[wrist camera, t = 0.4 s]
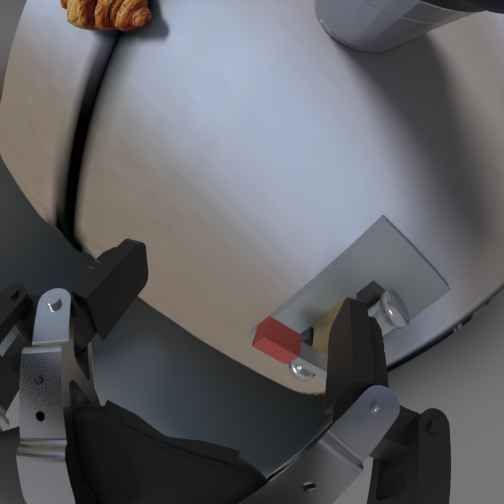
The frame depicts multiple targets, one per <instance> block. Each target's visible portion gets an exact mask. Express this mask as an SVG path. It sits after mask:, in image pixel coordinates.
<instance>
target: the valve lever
mask: <svg viewBox="0 0 504 504" xmlns="http://www.w3.org/2000/svg"><path fill="white" fill-rule="evenodd" d="M302 336H303V335H301V334H299V333H297V332H296V331H294V330H292V329H291V328H289V327H287V326H286V325H284V324H282V323H281V322H279V321H278V320H276V319H274V318H273V317H271V316H269V317H267V318H266V319H265V320H264V321H262V322H261V323H260V324H259V325H258V326H257V329H256V333H255V336H254V340H253V343H252V346H253V347H255V348H256V349H258V350H260V351H262V352H264V353H266V354H267V355H269V356H271V357H273V358H275V359H277V360H279V361H280V362H282V363H284V364H287V363H289V362H293V363H295V364H297V365H299V366H301V367H303V368H305V369H307V370H309V371H311V372H313V373H315V374H317V375H319V376H321V377H323V378H325V379H326V377H327V360H328V356H327V355H325V354H324V353H322V352H320V351H318V350H316V349H315V348H313V347H311V346H309V345H308V344H306V343H304V342H302Z"/></svg>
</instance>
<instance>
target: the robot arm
mask: <svg viewBox="0 0 504 504" xmlns="http://www.w3.org/2000/svg"><path fill="white" fill-rule="evenodd" d="M314 1H315V11H316V15H317V17H318V20H319V22H320V23H321V25H322V27H323V28H324V29H325V30H326V31H327V33H328V34H329V35H330V36H332V37H333V38H334V39H335V40H337V41H338V42H340V43H342V44H343V45H345V46H347V47H350V48H352V49H355V50H359V51H363V52H374V53H376V52H383V51H387V50H389V49H392V48H394V47H396V46H398V45H400V44H403V43H405V42H407V41H409V40H411V39H413V38H415V37H417V36H420V35H422V34H424V33H426V32H429V31H431V30H433V29H436V28H438V27H440V26H443V25H445V24H448V23H450V22H453V21H456V20H458V19H460V18H463V17H466V16H469V15H472V14H475V13H478V12H481V11H485V10H487V11H490V12H495V13H501V14H504V0H314ZM147 279H148V266H147V255H146V246H145V244H144V243H142V242H139V241H135V240H132V239H125V240H124V241H123V242H122V243H121V244H120V245H119V246H117V247H114V248H111V249H109V250H107V251H105V252H103V253H102V254H101V255H100V256H99V257H98V258H97V259H96V261H94V262H93V263H92V264H91V265H90V266H89V268H86V269H85V270H84V271H83V272H82V273H81V274H80V275H79V276H78V277H77V278H76V279H75V280H74V281H73V282H72V283H71V284H70V285H69V286H68V287H67V288H66V289H65V290H64V289H59V288H57V289H52V290H50V291H48V292H46V293H45V294H44V295H43V296H37V295H31V294H29V292H28V290H27V288H26V285H25V284H23V283H21V282H15V283H12V284H10V285H8V286H7V287H6V288H5V289H4V290H3V291H2V292H1V293H0V344H1V342H2V341H3V340H4V338H5V337H6V336H7V334H8V333H9V332H10V330H11V329H12V328H13V327H15V329H16V330H17V332H18V333H19V335H18V336H17V337H16V339H15V340H14V341H13V343H12V344H11V345H10V347H9V348H8V349H7V351H6V352H5V354H4V355H3V356H2V357H1V356H0V504H332V503H333V502H334V501H335V500H336V499H337V498H338V497H339V496H340V495H341V494H342V493H343V492H344V491H345V490H346V489H347V488H348V487H349V486H350V485H351V484H352V483H353V482H354V480H355V479H356V478H357V477H358V476H359V474H360V473H361V472H362V470H363V466H362V464H363V462H364V461H365V459H366V458H367V457H368V456H370V457H373V458H374V459H373V467H372V475H371V482H370V488H369V494H368V500H367V504H449V496H450V480H451V446H450V429H449V422H448V419H447V417H446V416H445V414H444V413H443V412H442V411H440V410H439V409H435V408H430V409H427V410H426V411H424V412H423V413H422V414H419V413H417V412H414V411H412V410H409V409H406V408H405V407H403V406H401V405H400V403H399V400H398V398H397V396H396V394H395V393H394V392H393V391H392V390H390V389H389V387H388V376H387V367H386V358H385V352H384V343H383V336H382V329H381V327H380V325H379V324H378V322H377V320H376V318H375V317H370V316H369V315H368V307H367V303H366V301H362V300H358V299H353V298H349V297H347V298H346V299H345V301H344V302H343V304H342V306H341V308H340V310H339V312H338V314H337V316H336V318H335V320H334V322H333V324H332V326H331V329H330V333H329V339H328V360H327V377H326V391H325V403H324V413H329V414H333V421H332V423H331V424H329V425H328V426H327V427H326V429H324V430H323V431H322V432H321V433H320V434H319V435H318V436H317V437H316V438H315V439H314V440H313V441H311V442H310V443H309V444H308V445H307V446H306V447H305V448H303V449H302V450H301V451H300V452H299V453H298V454H296V455H295V456H294V457H293V458H291V459H290V460H289V461H287V462H286V463H285V464H283V465H282V466H281V467H279V468H278V469H277V470H276V471H275V472H273V473H272V474H270V475H269V476H267V477H265V476H264V475H263V474H262V473H261V472H260V471H259V470H258V469H257V468H255V467H254V466H253V465H252V464H250V463H249V462H247V461H246V460H244V459H241V458H240V457H239V454H240V451H238V450H234V449H230V448H226V447H223V446H219V445H216V444H212V443H209V442H206V441H198V440H188V439H180V438H173V437H168V436H165V435H163V434H161V433H160V432H159V431H157V430H156V429H155V428H153V427H152V426H151V425H149V424H148V423H147V422H145V421H144V420H143V419H142V418H140V417H139V416H137V415H136V414H134V413H132V412H130V411H128V410H126V409H124V408H122V407H120V406H118V405H116V404H114V403H113V402H111V401H109V400H107V402H106V404H105V406H101V405H100V401H99V398H98V395H97V392H96V390H95V386H94V378H93V369H92V356H91V355H92V354H91V344H90V341H91V339H92V338H93V337H94V338H96V339H98V340H100V341H102V342H103V341H104V339H105V338H106V337H107V335H108V334H109V333H110V331H111V330H112V329H113V327H114V326H115V325H116V323H117V322H118V320H119V319H120V318H121V316H122V315H123V314H124V312H125V311H126V310H127V309H128V307H129V306H130V304H131V303H132V302H133V301H134V299H135V298H136V297H137V296H138V294H139V293H140V292H141V290H142V289H143V288H144V287H145V285H146V282H147ZM18 391H19V427H15V428H12V429H9V430H6V429H8V427H9V420H8V419H7V418H6V415H5V414H6V412H7V410H8V408H9V406H10V404H11V402H12V401H13V399H14V397H15V396H16V394H17V392H18ZM3 430H5V431H3Z"/></svg>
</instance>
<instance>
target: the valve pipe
mask: <svg viewBox="0 0 504 504" xmlns="http://www.w3.org/2000/svg"><path fill="white" fill-rule="evenodd" d="M356 296H357V299H358V300H362V301H366V303H367V307H368V315H369V316H370V317H375V318H376V320H377V322H378V324H379V325H380V327H381V329H382V336H384V335H386V334H387V333H389V332H391V331H392V330H394V329H395V328H398V329H401V328H403V327H404V326H406V325H407V324H409V322H410V317H409V313H408V310H407V308H406V306H405V304H404V302H403V301H402V299H401V298H400V297H399V296H398V294H397V293H395V292H394V291H393V290H391V289H388V290H387V291H386V290H385V289H383V288H382V287H381V286H380V285H379V284H377V283H376V282H375V281H374V280H373V281H372V282H370V283H369V284H368V285H367V286H365V287H364V288H363V289H362V290H360V291H359V292H358V293H356ZM345 299H346V298H345ZM345 299H343V300H342V301H341V302H339V303H338V304H337V305H335V306H334V307H333V308H331V309H330V310H329V311H327V312H326V313H324V314H323V315H322V316H320V317H319V318H317V319H316V320H315V328H313V327H309V328H308V329H306V330H305V331H303V332H302V333H300V334H301V335H303V336H302V342H304V343H306V344H308V345H309V346H311V347H313V348H315V349H316V350H318V351H320V352H322V353H324V354H325V355H327V356H328V339H329V333H330V329H331V326H332V324H333V322H334V320H335V318H336V316H337V314H338V312H339V310H340V308H341V306H342V304H343V302H344V301H345ZM289 368H290V371H291V373H292V374H293V375H294V377H296V378H297V379H298V380H301V381H307V380H309V379H311V378H313V377H314V376H315V375H316V374H315V373H313V372H311V371H309V370H307V369H305V368H303V367H301V366H299V365H297V364H295V363H293V362H289Z"/></svg>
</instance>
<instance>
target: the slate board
mask: <svg viewBox="0 0 504 504" xmlns="http://www.w3.org/2000/svg"><path fill="white" fill-rule="evenodd" d="M373 280H374V281H375V282H376V283H377V284H379V285H380V286H381V287H382V288H383V289H385V290H386V291H387V290H388V289H391V290H393V291H394V292H395V293H397V294H398V296H399V297H400V298H401V299H402V301H403V302H404V304H405V306H406V308H407V310H408V313H409V317H410V319H411V318H413V317H414V316H416V315H417V314H418V313H420V312H421V311H423V310H424V309H425V308H427V307H428V306H430V305H431V304H432V303H434V302H435V301H436V300H438V299H439V298H440V297H442V296H443V295H444V294H445V293H447V292H448V291H449V290H450V288H449V286H448V283H447V282H446V281H445V279H444V278H443V277H442V276H441V275H440V274H439V272H438V271H437V270H436V269H435V268H434V267H433V266H432V264H431V263H430V262H429V261H428V260H427V259H426V258H425V257H424V256H423V254H422V253H421V252H420V251H419V250H418V249H417V248H416V247H415V246H414V245H413V244H412V243H411V242H410V241H409V240H408V239H407V238H406V237H405V236H404V235H403V234H402V233H401V232H400V231H399V230H398V229H397V228H396V227H395V226H394V225H393V224H392V223H391V222H390V221H389V220H388V219H387V218H386V217H385V216H384V215H382V216H381V217H380V218H379V219H378V220H377V221H376V222H375V223H374V224H373V225H372V226H371V227H370V228H369V229H368V230H367V231H366V232H365V233H364V234H363V235H362V236H360V237H359V238H358V239H357V240H356V241H355V242H354V243H353V244H352V245H351V246H350V247H349V248H348V249H346V250H345V251H344V252H343V253H342V254H341V255H340V256H339V257H338V258H337V259H335V260H334V261H333V262H332V263H331V264H330V265H329V266H328V267H326V268H325V269H324V270H323V271H322V272H321V273H320V274H319V275H317V276H316V277H315V278H314V279H313V280H312V281H310V282H309V283H308V284H307V285H306V286H305V287H303V288H302V289H301V290H300V291H299V292H298V293H296V294H295V295H294V296H293V297H292V298H290V299H289V300H288V301H287V302H286V303H284V304H283V305H282V306H281V307H280V308H278V309H277V310H276V311H275V312H273V313H272V314H271V315H270V316H271V317H273V318H274V319H276V320H278V321H279V322H281V323H282V324H284V325H286V326H287V327H289V328H291V329H292V330H294V331H296V332H297V333H299V334H300V333H302V332H303V331H305V330H306V329H308V328H309V327H313V328H315V320H316V319H317V318H319V317H320V316H322V315H323V314H324V313H326V312H327V311H329V310H330V309H331V308H333V307H334V306H335V305H337V304H338V303H339V302H341V301H342V300H343V299H345V298H347V297H349V298H353V299H357V296H356V293H358V292H359V291H360V290H362V289H363V288H364V287H365V286H367V285H368V284H369V283H370V282H372V281H373ZM257 326H258V325H257ZM257 326H256V327H255V328H254V329H252V330H251V332H250V335H249V338H251V339H252V340H254V336H255V333H256V329H257ZM395 329H396V328H395ZM395 329H394V330H395ZM392 331H393V330H392ZM392 331H391V332H392ZM389 333H390V332H389ZM389 333H387V334H389ZM387 334H386V335H387ZM384 336H385V335H384ZM384 336H383V337H384Z"/></svg>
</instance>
